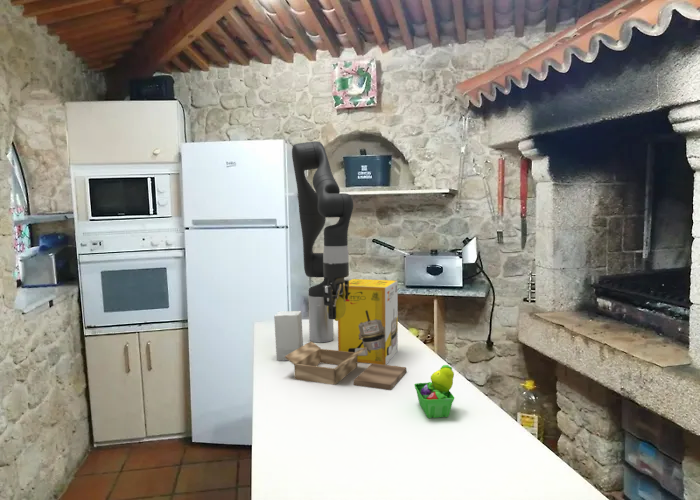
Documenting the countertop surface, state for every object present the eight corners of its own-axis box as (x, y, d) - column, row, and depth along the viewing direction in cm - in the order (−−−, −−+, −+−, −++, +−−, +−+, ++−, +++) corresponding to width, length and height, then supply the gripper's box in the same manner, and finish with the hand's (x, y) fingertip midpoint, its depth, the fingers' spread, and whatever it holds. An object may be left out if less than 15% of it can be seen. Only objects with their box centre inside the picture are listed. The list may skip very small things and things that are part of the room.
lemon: (348, 319, 150) (348, 293, 150) (341, 323, 145) (341, 296, 144) (331, 318, 152) (331, 292, 152) (324, 322, 147) (324, 295, 146)
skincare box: (303, 355, 170) (302, 310, 168) (299, 361, 163) (299, 314, 162) (279, 355, 170) (278, 310, 169) (275, 361, 164) (273, 314, 162)
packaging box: (386, 365, 158) (385, 287, 156) (338, 360, 164) (337, 285, 162) (397, 351, 174) (397, 280, 172) (353, 347, 179) (353, 278, 177)
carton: (310, 361, 163) (310, 341, 163) (367, 367, 156) (366, 346, 155) (284, 377, 147) (284, 355, 147) (346, 386, 140) (345, 363, 139)
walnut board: (372, 368, 156) (372, 363, 155) (406, 372, 151) (406, 367, 151) (353, 385, 141) (353, 379, 141) (390, 390, 137) (390, 384, 137)
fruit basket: (413, 402, 128) (413, 359, 127) (446, 400, 129) (447, 358, 128) (423, 421, 117) (423, 374, 116) (460, 419, 118) (460, 372, 117)
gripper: (334, 258, 155) (335, 311, 157) (313, 262, 142) (314, 321, 143) (356, 259, 152) (357, 313, 154) (337, 263, 139) (338, 323, 140)
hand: (336, 316), depth 148 cm, fingers closed on lemon, 5 cm apart
